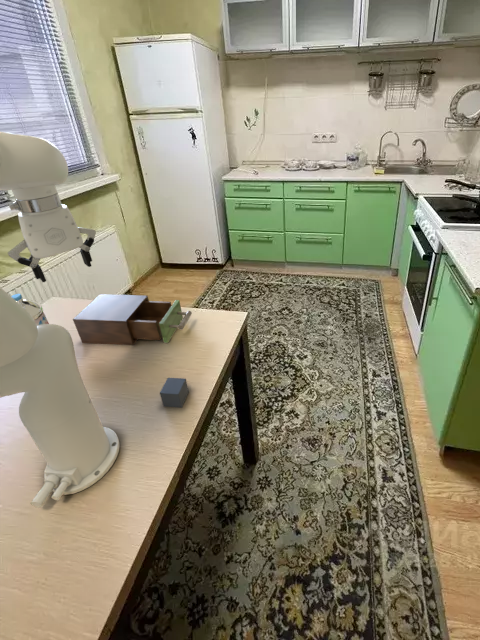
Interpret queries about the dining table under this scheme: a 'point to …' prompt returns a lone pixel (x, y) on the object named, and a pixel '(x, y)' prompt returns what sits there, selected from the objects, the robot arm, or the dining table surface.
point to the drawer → (158, 320)
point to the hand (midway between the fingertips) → (66, 272)
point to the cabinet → (108, 319)
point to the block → (174, 392)
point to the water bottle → (32, 309)
